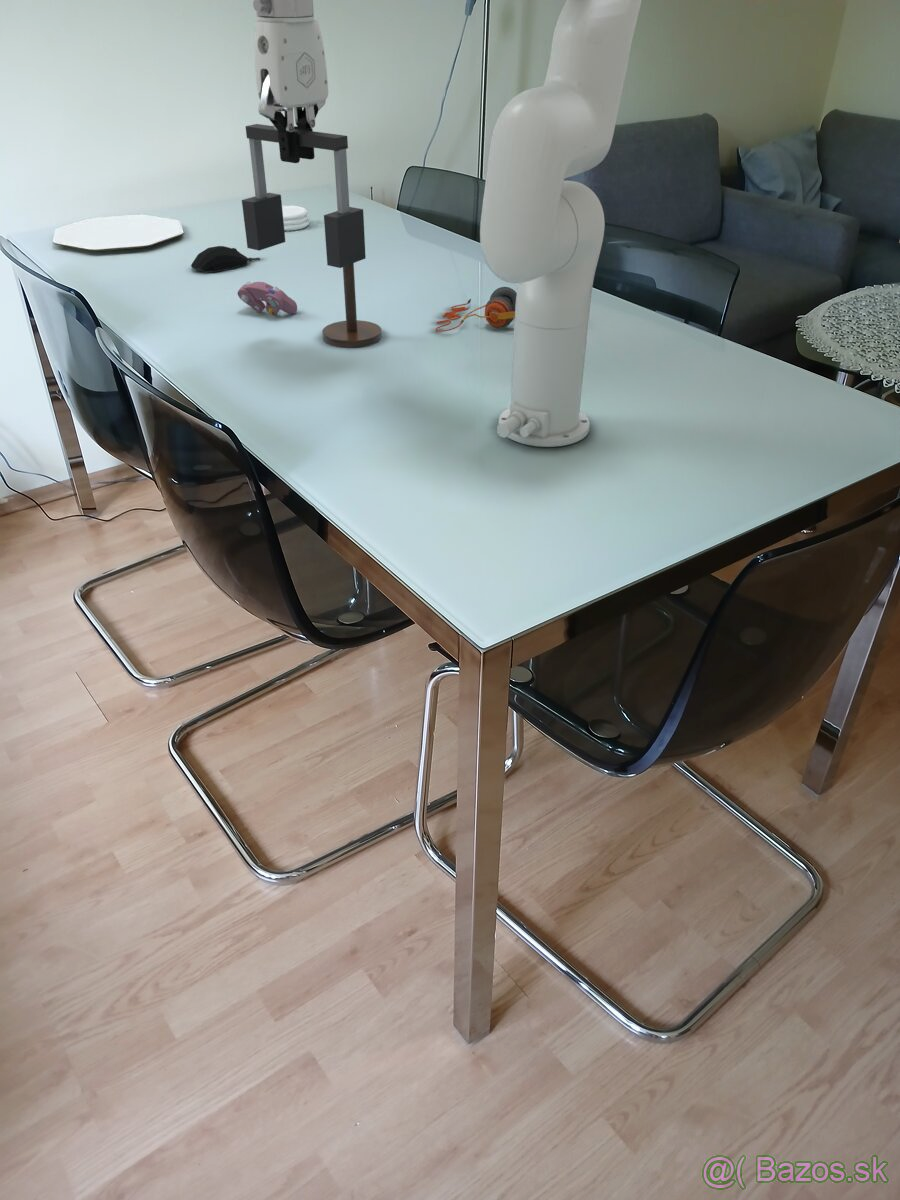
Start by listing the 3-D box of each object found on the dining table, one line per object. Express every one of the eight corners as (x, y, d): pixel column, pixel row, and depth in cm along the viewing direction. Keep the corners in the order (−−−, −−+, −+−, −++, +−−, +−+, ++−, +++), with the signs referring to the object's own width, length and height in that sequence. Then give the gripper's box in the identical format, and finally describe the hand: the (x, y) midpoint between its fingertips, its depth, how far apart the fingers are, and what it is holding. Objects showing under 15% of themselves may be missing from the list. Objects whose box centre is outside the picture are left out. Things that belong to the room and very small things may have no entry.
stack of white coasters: (294, 218, 219) (293, 202, 217) (317, 226, 213) (315, 210, 211) (257, 225, 214) (256, 209, 212) (280, 233, 208) (278, 217, 206)
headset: (340, 268, 133) (332, 140, 123) (247, 248, 141) (232, 127, 131) (365, 258, 137) (359, 134, 127) (273, 239, 145) (261, 121, 135)
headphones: (433, 348, 158) (547, 330, 152) (426, 318, 155) (541, 299, 149) (452, 316, 171) (557, 299, 165) (446, 288, 168) (553, 270, 162)
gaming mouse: (266, 263, 189) (264, 243, 187) (200, 275, 182) (196, 255, 180) (252, 256, 193) (250, 236, 191) (187, 268, 186) (183, 247, 184)
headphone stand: (357, 352, 149) (350, 229, 138) (310, 339, 154) (300, 220, 142) (393, 334, 156) (389, 216, 145) (347, 323, 160) (340, 207, 149)
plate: (57, 226, 212) (55, 219, 211) (178, 218, 218) (177, 211, 218) (52, 259, 191) (51, 252, 190) (187, 249, 197) (186, 241, 196)
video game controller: (245, 318, 167) (229, 288, 161) (257, 300, 168) (242, 270, 162) (289, 327, 163) (274, 297, 157) (301, 309, 165) (287, 278, 159)
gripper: (263, 12, 113) (279, 173, 124) (345, 6, 124) (353, 154, 135) (220, 9, 116) (239, 166, 127) (303, 3, 127) (314, 148, 138)
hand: (297, 158), depth 131 cm, fingers closed on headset, 2 cm apart
